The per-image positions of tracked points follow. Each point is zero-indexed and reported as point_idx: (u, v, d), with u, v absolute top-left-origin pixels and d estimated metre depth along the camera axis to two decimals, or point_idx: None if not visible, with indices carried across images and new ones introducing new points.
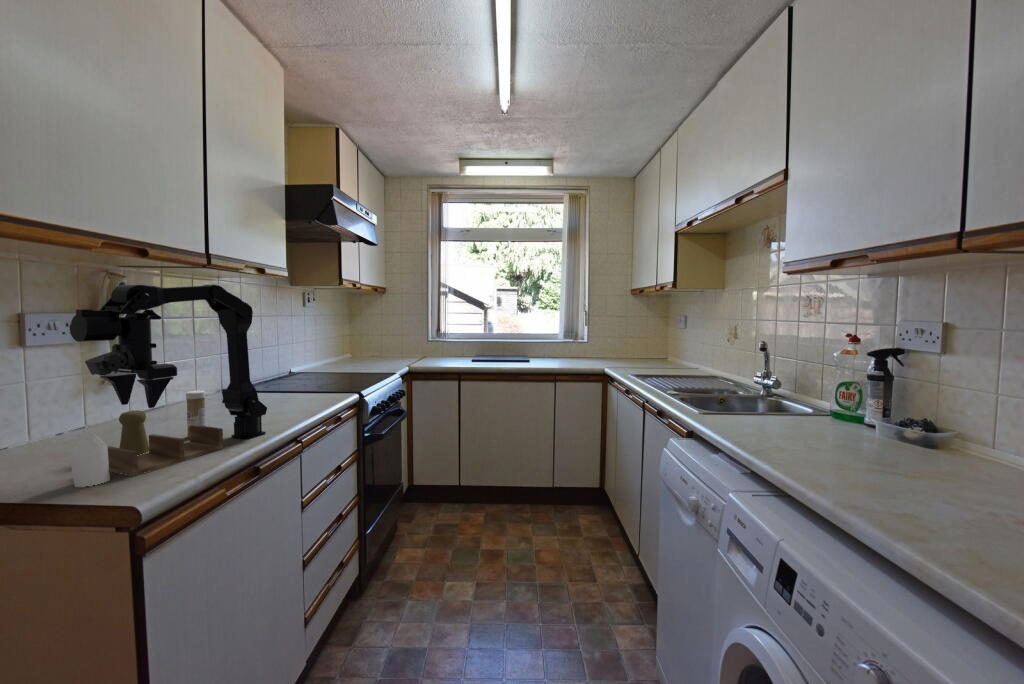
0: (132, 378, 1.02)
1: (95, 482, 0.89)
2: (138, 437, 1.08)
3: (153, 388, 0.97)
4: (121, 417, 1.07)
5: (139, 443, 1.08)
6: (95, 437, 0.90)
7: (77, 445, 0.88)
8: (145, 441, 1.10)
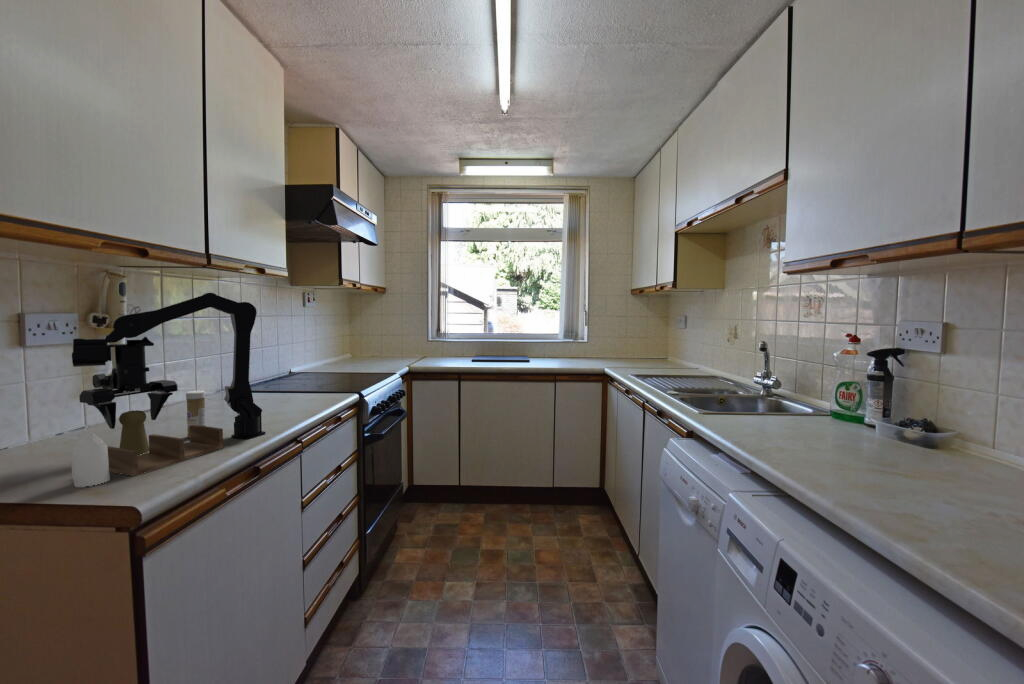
0: (159, 398, 1.13)
1: (95, 482, 0.89)
2: (138, 437, 1.08)
3: (105, 410, 1.04)
4: (121, 417, 1.07)
5: (139, 443, 1.08)
6: (95, 437, 0.90)
7: (77, 445, 0.88)
8: (145, 441, 1.10)
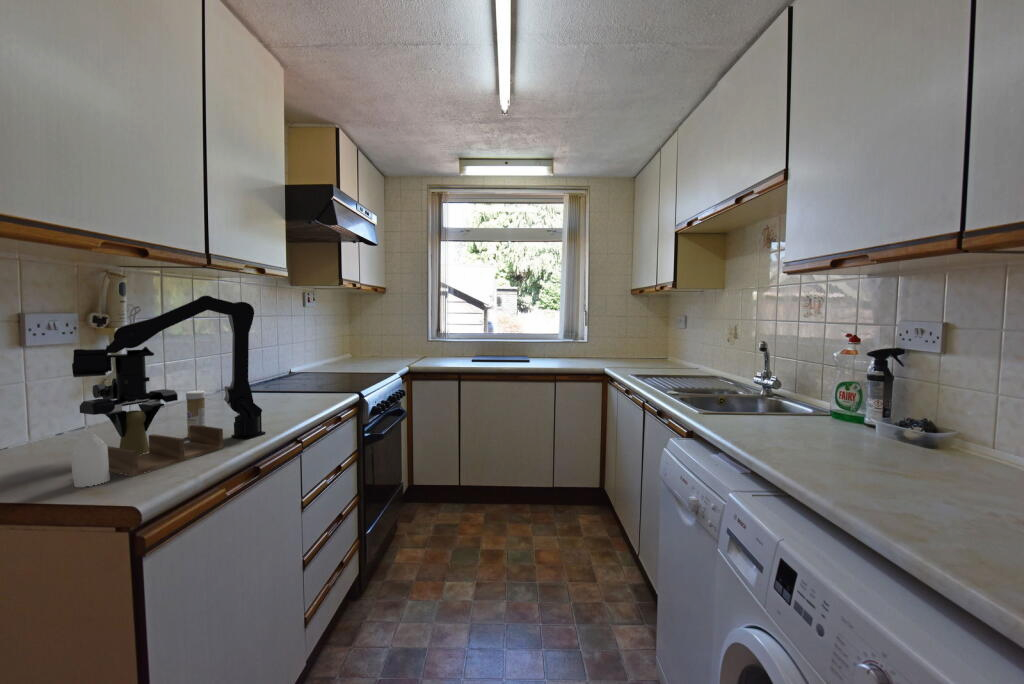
0: (150, 409, 1.11)
1: (95, 482, 0.89)
2: (138, 437, 1.08)
3: (115, 419, 1.06)
4: None
5: (139, 443, 1.08)
6: (95, 437, 0.90)
7: (77, 445, 0.88)
8: (145, 441, 1.10)
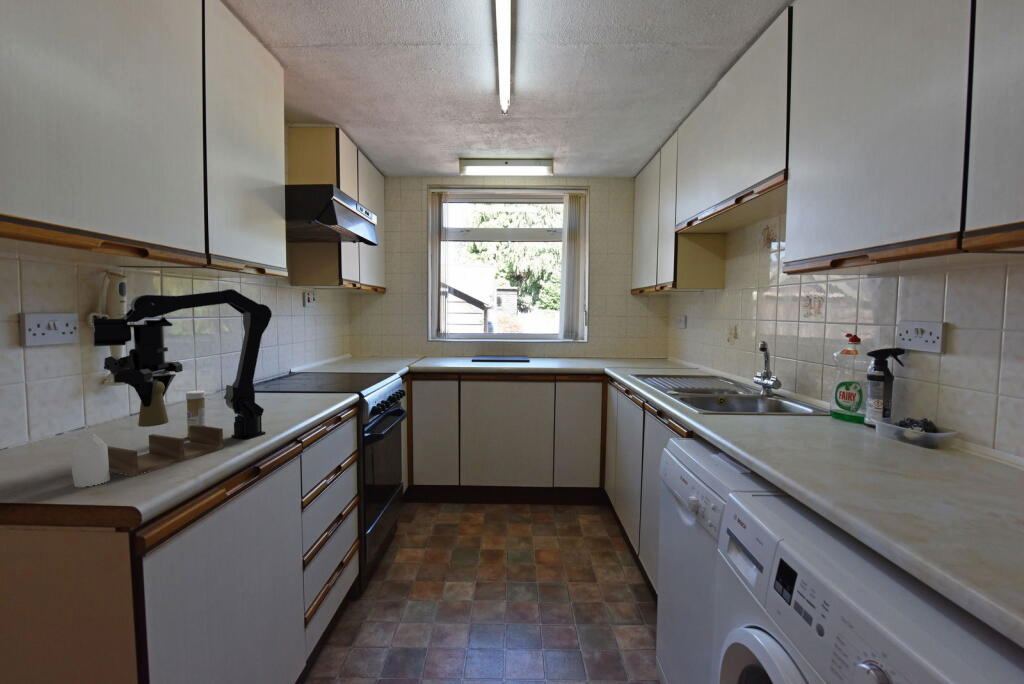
0: (166, 379, 1.12)
1: (95, 482, 0.89)
2: (162, 406, 1.10)
3: (142, 389, 1.06)
4: None
5: (163, 412, 1.10)
6: (95, 437, 0.90)
7: (77, 445, 0.88)
8: (165, 410, 1.11)
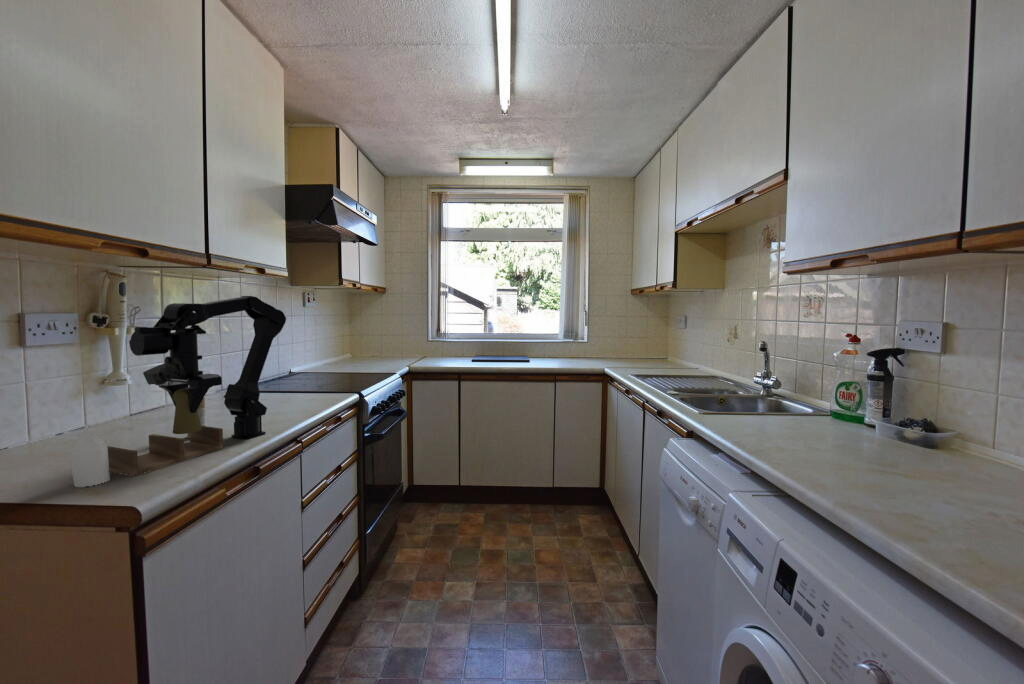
0: (185, 387, 1.13)
1: (95, 482, 0.89)
2: None
3: (195, 395, 1.09)
4: None
5: None
6: (95, 437, 0.90)
7: (77, 445, 0.88)
8: None
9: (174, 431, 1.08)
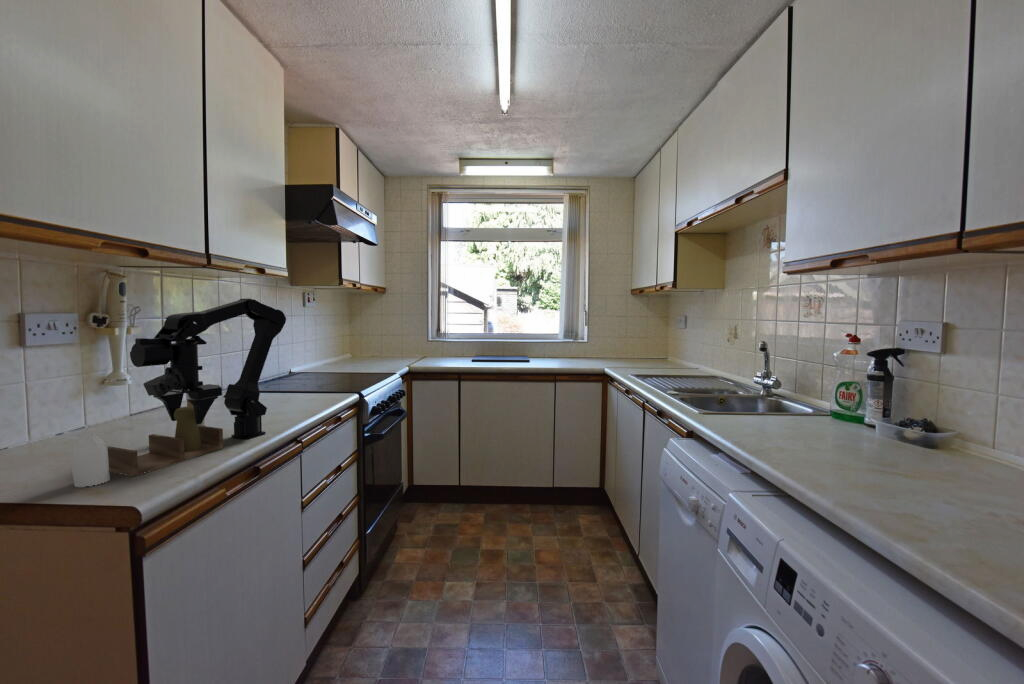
0: (180, 397, 1.13)
1: (95, 482, 0.89)
2: None
3: (201, 406, 1.08)
4: (193, 411, 1.09)
5: None
6: (95, 437, 0.90)
7: (77, 445, 0.88)
8: None
9: None
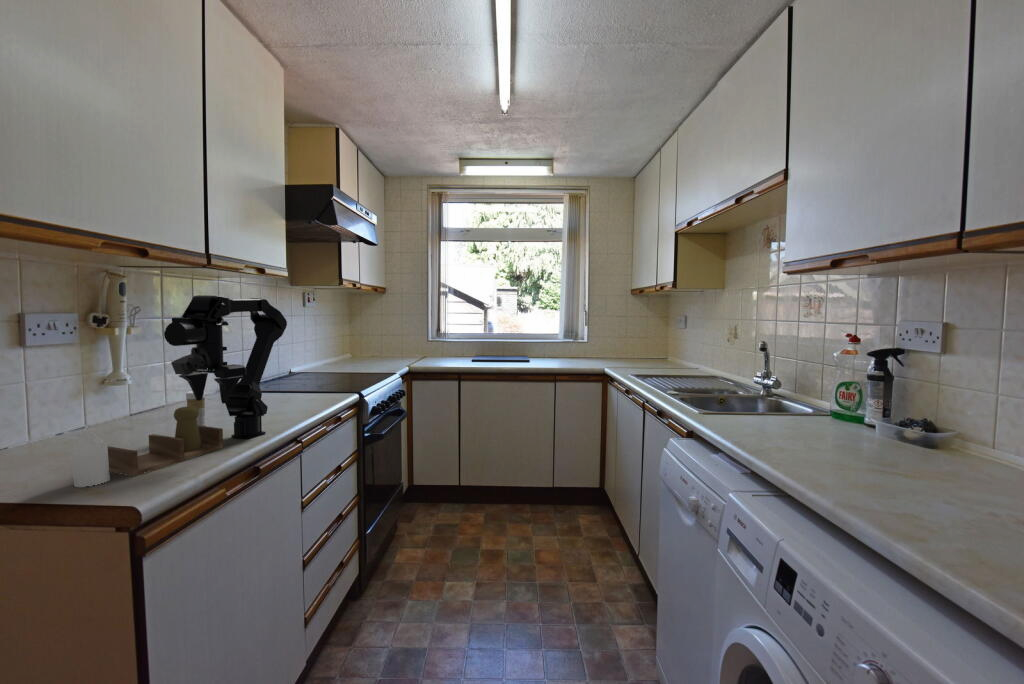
0: (204, 377, 1.16)
1: (95, 482, 0.89)
2: None
3: (226, 385, 1.10)
4: (193, 411, 1.09)
5: None
6: (95, 437, 0.90)
7: (77, 445, 0.88)
8: None
9: None
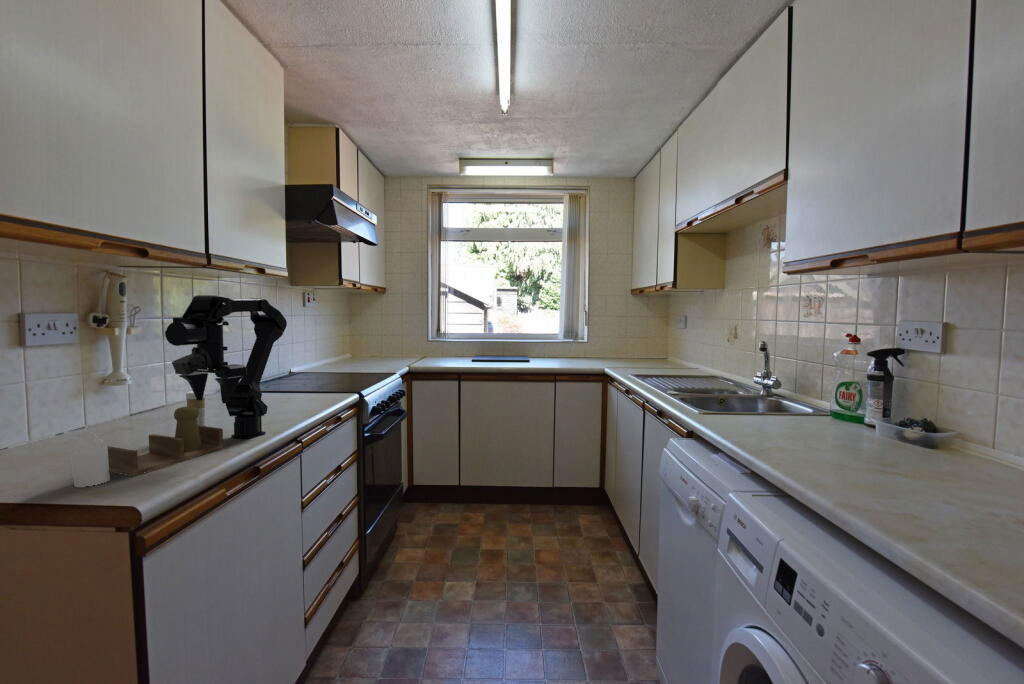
0: (205, 377, 1.16)
1: (95, 482, 0.89)
2: None
3: (227, 385, 1.10)
4: (193, 412, 1.09)
5: None
6: (95, 437, 0.90)
7: (77, 445, 0.88)
8: None
9: None
